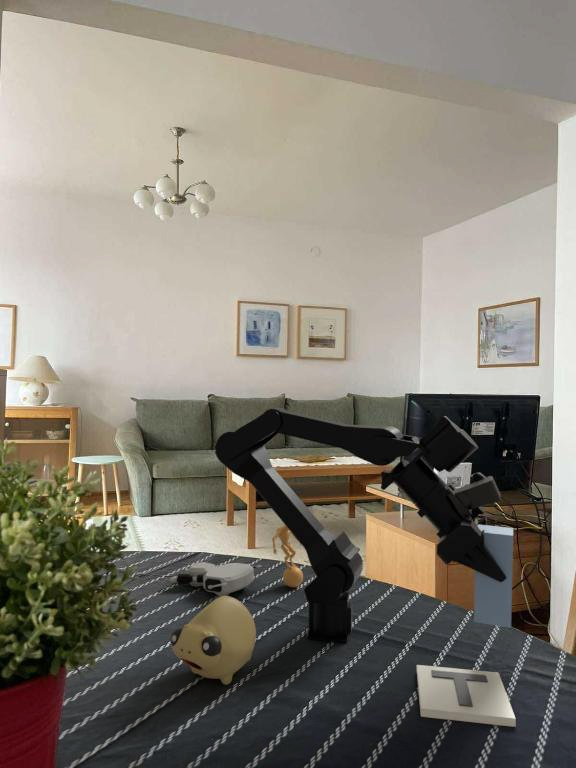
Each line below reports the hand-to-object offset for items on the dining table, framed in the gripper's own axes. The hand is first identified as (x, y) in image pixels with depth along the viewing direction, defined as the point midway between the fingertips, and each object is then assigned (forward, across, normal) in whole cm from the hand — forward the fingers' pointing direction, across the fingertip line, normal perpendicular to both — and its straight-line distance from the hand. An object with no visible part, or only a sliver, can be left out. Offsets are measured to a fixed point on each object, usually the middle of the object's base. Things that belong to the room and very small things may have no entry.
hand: (504, 574), depth 84 cm
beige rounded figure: (-17, -19, +36) cm, 44 cm away
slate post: (+4, 0, +6) cm, 7 cm away
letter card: (+6, -12, +13) cm, 18 cm away
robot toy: (-28, +11, +47) cm, 56 cm away
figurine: (-19, +18, +38) cm, 46 cm away
